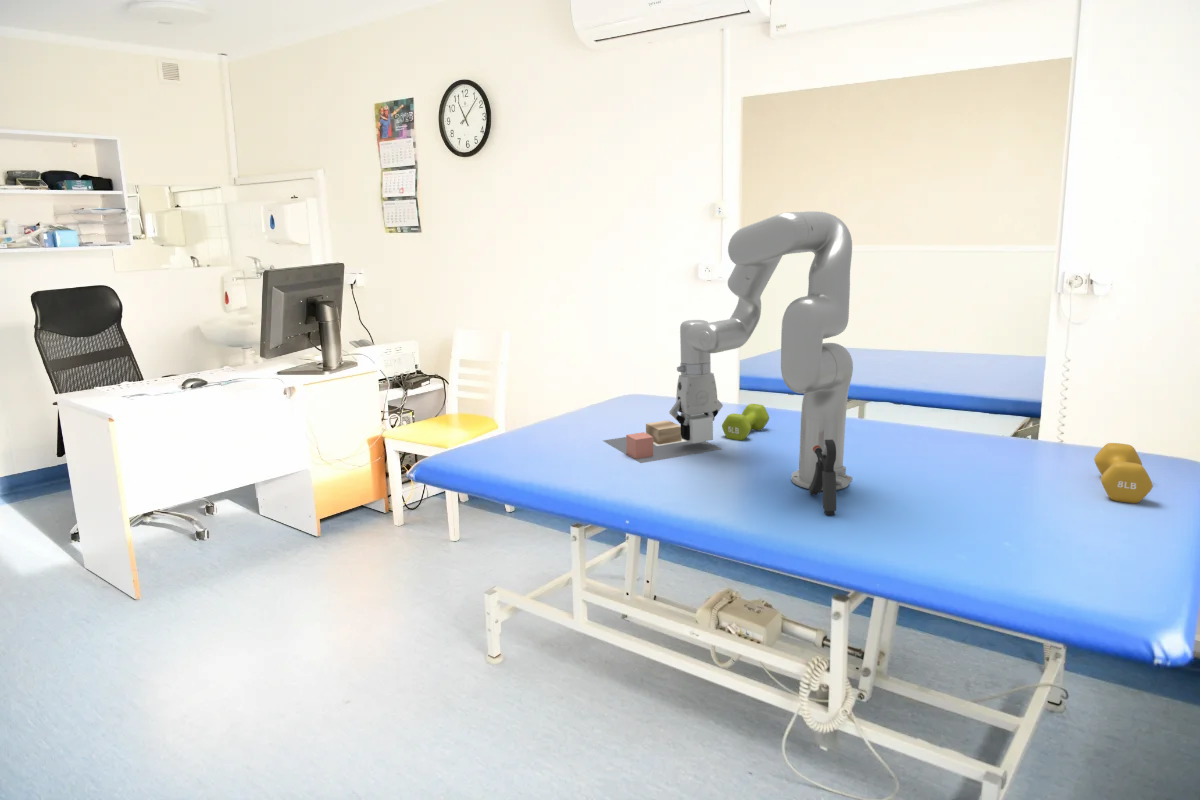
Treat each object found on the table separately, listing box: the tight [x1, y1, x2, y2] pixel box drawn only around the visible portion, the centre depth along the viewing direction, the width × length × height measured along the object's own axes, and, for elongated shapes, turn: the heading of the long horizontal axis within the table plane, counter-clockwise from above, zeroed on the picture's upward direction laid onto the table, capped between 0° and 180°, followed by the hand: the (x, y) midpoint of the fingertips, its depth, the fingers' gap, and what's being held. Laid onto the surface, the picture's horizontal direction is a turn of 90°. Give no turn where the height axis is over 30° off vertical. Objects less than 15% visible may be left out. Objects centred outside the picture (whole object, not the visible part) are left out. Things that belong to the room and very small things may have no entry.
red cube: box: [625, 431, 653, 459], centre depth 196 cm, size 5×5×5 cm
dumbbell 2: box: [1093, 442, 1154, 504], centre depth 167 cm, size 19×9×8 cm, turn 152°
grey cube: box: [681, 413, 714, 443], centre depth 201 cm, size 6×6×6 cm
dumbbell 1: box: [721, 403, 770, 441], centre depth 213 cm, size 16×8×7 cm, turn 145°
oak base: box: [645, 419, 682, 444], centre depth 209 cm, size 7×7×4 cm
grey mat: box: [602, 436, 723, 464], centre depth 204 cm, size 22×24×1 cm
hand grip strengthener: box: [808, 440, 837, 516], centre depth 160 cm, size 2×12×15 cm, turn 2°
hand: (696, 436), depth 201 cm, fingers closed on grey cube, 6 cm apart
